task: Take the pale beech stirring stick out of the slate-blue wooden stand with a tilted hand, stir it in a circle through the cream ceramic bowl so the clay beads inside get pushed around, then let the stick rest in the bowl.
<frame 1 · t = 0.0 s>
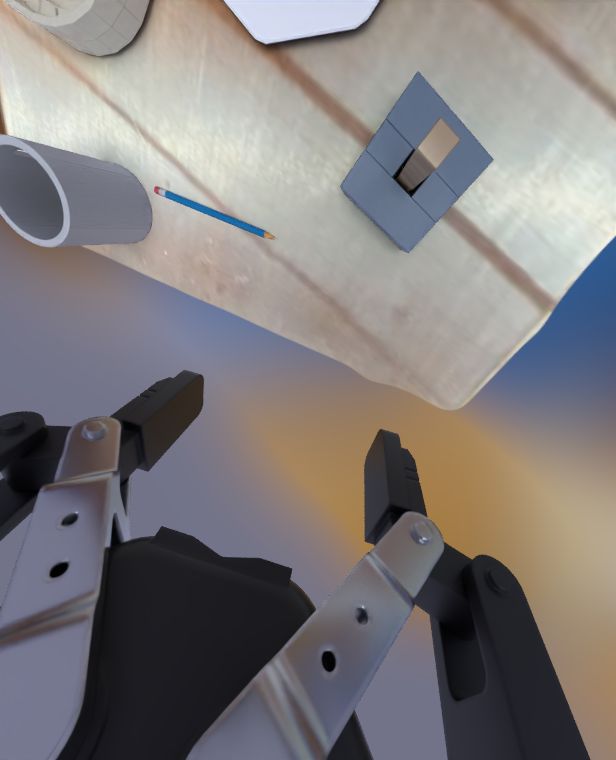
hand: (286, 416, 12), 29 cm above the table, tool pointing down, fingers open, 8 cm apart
stand: (404, 183, 30), on the table
pencil: (218, 215, 35), on the table
cup: (122, 205, 37), on the table
stick: (416, 169, 23), in the stand
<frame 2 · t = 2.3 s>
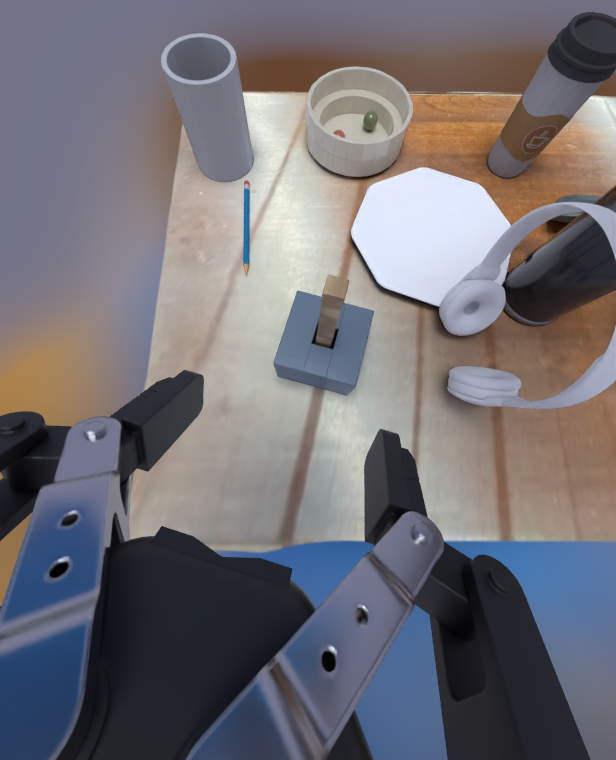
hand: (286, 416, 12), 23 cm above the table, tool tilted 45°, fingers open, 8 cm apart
bead olive: (370, 120, 45), point 2 cm above the table, touching bowl
stand: (321, 353, 37), on the table
stone: (573, 217, 43), on the table
headphones: (457, 354, 37), on the table
bowl: (353, 143, 46), on the table
bead terracotta: (338, 139, 43), point 2 cm above the table, touching bowl
coffee cup: (503, 165, 46), on the table
pencil: (247, 229, 41), on the table
cup: (226, 161, 44), on the table
stick: (326, 328, 29), in the stand
plate: (428, 240, 42), on the table
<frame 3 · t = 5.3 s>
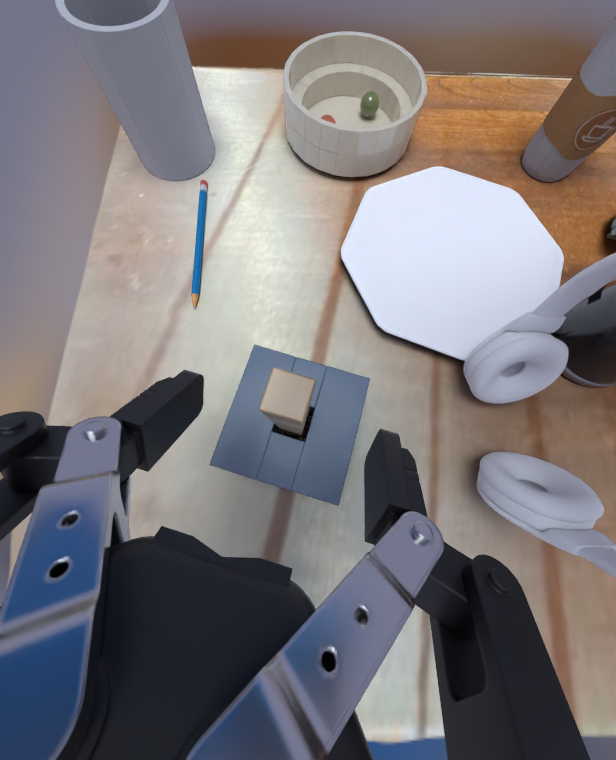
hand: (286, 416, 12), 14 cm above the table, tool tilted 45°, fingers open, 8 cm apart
bead olive: (369, 104, 34), point 2 cm above the table, touching bowl
stand: (294, 425, 26), on the table
headphones: (488, 428, 26), on the table
bowl: (347, 133, 35), on the table
bead terracotta: (326, 128, 33), point 2 cm above the table, touching bowl
coffee cup: (542, 166, 35), on the table
pencil: (201, 245, 31), on the table
cup: (179, 154, 34), on the table
stick: (292, 416, 18), in the stand
plate: (446, 263, 31), on the table
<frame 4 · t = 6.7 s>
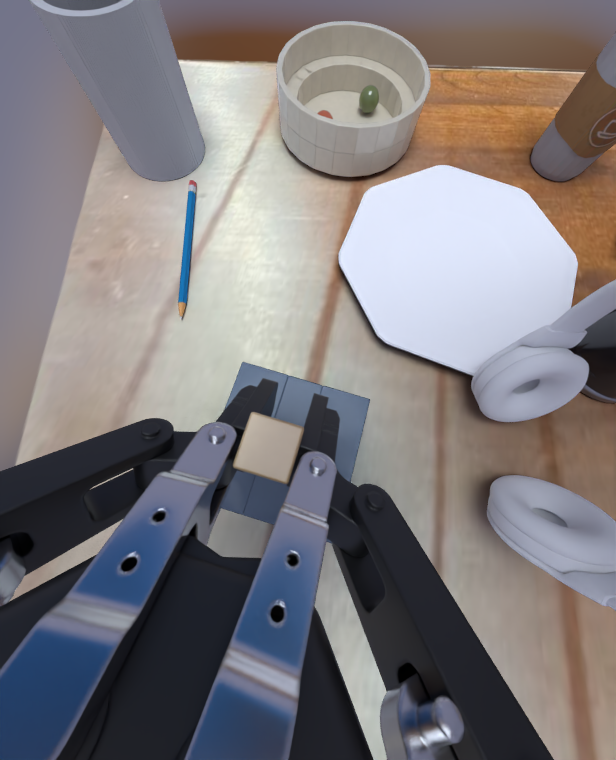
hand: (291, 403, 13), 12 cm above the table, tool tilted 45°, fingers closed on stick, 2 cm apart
bead olive: (369, 99, 32), point 2 cm above the table, touching bowl
stand: (288, 446, 24), on the table
headphones: (497, 447, 24), on the table
bowl: (345, 130, 33), on the table
bead terracotta: (323, 124, 31), point 2 cm above the table, touching bowl
coffee cup: (552, 164, 33), on the table
pencil: (189, 250, 29), on the table
cup: (166, 152, 32), on the table
stick: (283, 446, 16), in the stand, touching gripper
plate: (451, 268, 29), on the table
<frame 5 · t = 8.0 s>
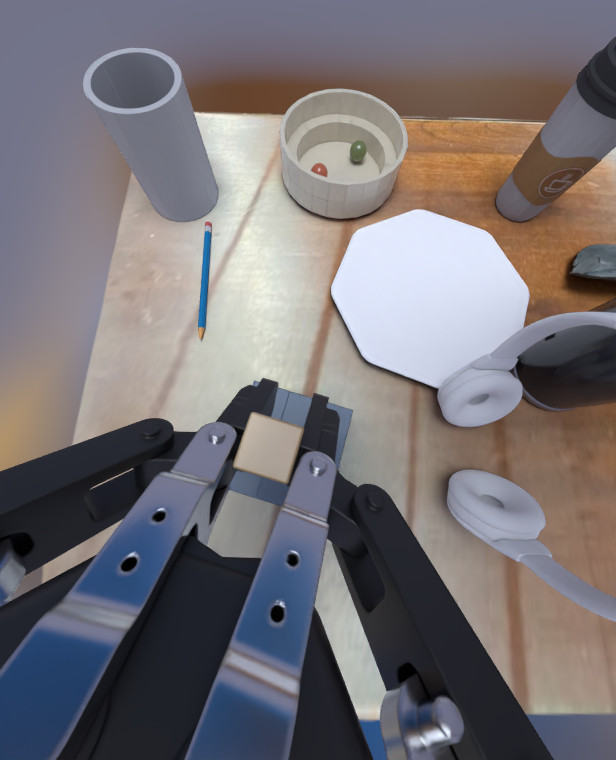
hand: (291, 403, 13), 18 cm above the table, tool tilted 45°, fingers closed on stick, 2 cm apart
bead olive: (358, 151, 38), point 2 cm above the table, touching bowl
stand: (289, 446, 29), on the table
stone: (597, 271, 36), on the table
headphones: (459, 447, 30), on the table
bowl: (338, 176, 39), on the table
bead terracotta: (319, 174, 36), point 2 cm above the table, touching bowl
coffee cup: (514, 206, 39), on the table
pencil: (206, 281, 34), on the table
cup: (185, 196, 37), on the table
stick: (283, 446, 16), point 14 cm above the table, touching gripper
plate: (425, 298, 34), on the table
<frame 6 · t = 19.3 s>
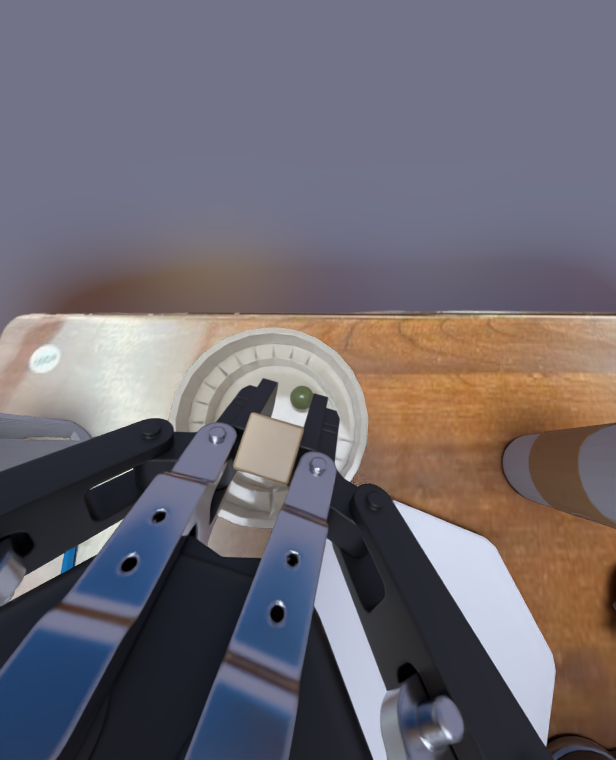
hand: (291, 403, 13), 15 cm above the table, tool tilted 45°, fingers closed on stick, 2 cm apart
bead olive: (301, 397, 26), point 2 cm above the table, touching bowl
bowl: (275, 424, 27), on the table
coffee cup: (529, 467, 27), on the table
cup: (48, 467, 25), on the table
stick: (283, 446, 16), point 11 cm above the table, touching gripper
plate: (396, 654, 23), on the table
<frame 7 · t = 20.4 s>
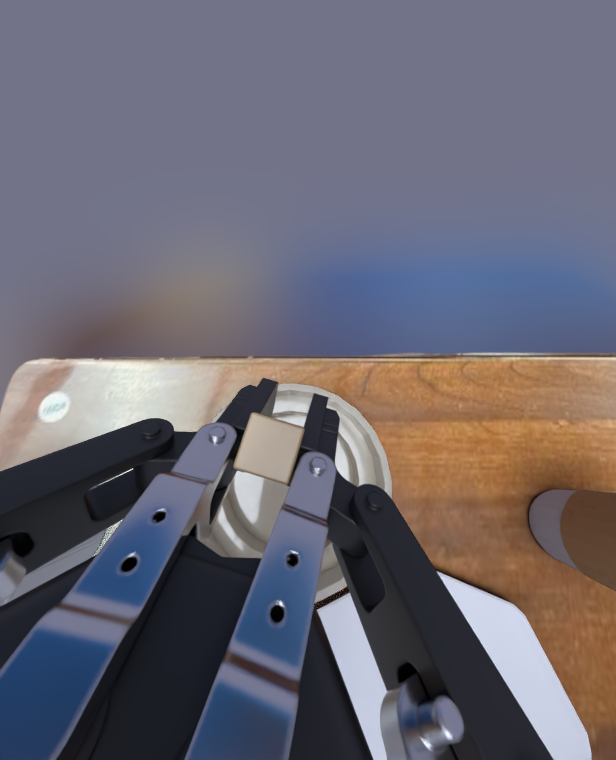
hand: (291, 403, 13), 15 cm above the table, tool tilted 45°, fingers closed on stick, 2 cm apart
bowl: (291, 476, 26), on the table
coffee cup: (556, 522, 26), on the table
cup: (58, 524, 25), on the table
stick: (284, 446, 16), point 11 cm above the table, touching gripper
plate: (420, 729, 22), on the table
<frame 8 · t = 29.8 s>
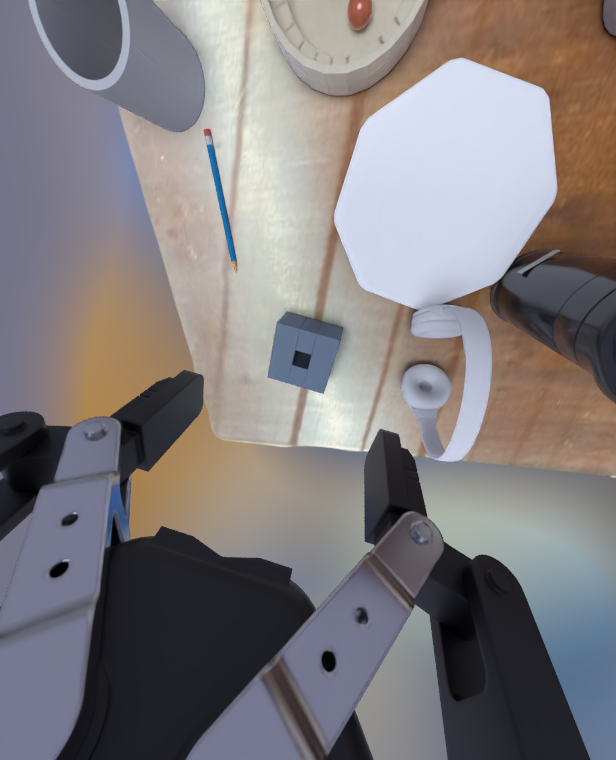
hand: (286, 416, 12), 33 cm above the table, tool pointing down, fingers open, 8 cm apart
stand: (308, 345, 46), on the table
headphones: (426, 347, 42), on the table
bead terracotta: (359, 9, 26), point 2 cm above the table, tilted 134°, touching bowl
pencil: (224, 209, 38), on the table
cup: (170, 82, 32), on the table
plate: (433, 208, 34), on the table
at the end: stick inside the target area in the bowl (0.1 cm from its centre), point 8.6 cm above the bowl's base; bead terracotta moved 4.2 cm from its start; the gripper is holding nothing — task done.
